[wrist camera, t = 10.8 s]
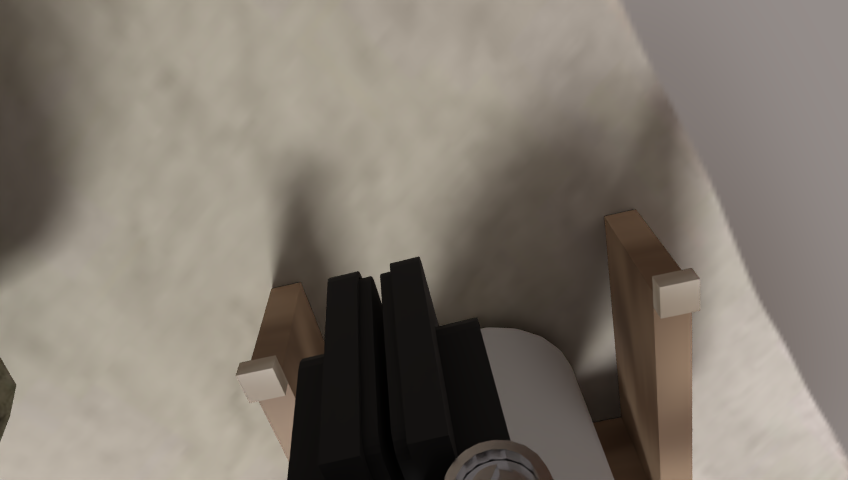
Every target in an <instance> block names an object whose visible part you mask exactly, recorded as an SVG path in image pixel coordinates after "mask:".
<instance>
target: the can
mask: <svg viewBox="0 0 848 480" xmlns="http://www.w3.org/2000/svg"><path fill="white" fill-rule="evenodd" d="M481 333H482V337H483V340H484V344H485V348H486V351H487V355H488V359H489V362H490V366H491V370H492V374H493V377H494V381H495V385H496V388H497V392H498V396H499V399H500V403H501V407H502V410H503V414H504V418H505V422H506V425H507V429H508V433H509V436H510V440H511V441H513V442H516V443H520V444H523V445H525V446H527V447H528V448H530V449H531V450H533V451H534V452H535V453H537V454H538V455H539V456H540V458H541V459H542V460H543V462H544V463H545V464H546V466H547V468H548V469H549V471H550V473H551V475H552V477H553V479H554V480H614V478H613V475H612V472H611V470H610V467H609V464H608V462H607V459H606V456H605V454H604V451H603V448H602V446H601V443H600V440H599V438H598V435H597V432H596V430H595V427H594V425H593V422H592V419H591V417H590V414H589V411H588V409H587V406H586V403H585V401H584V398H583V395H582V393H581V390H580V387H579V385H578V382H577V379H576V377H575V374H574V372H573V369H572V367H571V366H570V364H569V362H568V361H567V359H566V358H565V356H564V354H563V353H562V351H561V350H559V349H558V348H557V347H555V346H554V345H553V344H551V343H550V342H548V341H547V340H546V339H544V338H543V337H541V336H538V335H535V334H532V333H529V332H526V331H523V330H520V329H515V328H493V327H487V328H482V329H481Z"/></svg>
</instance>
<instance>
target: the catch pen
mask: <svg viewBox="0 0 848 480" xmlns="http://www.w3.org/2000/svg"><path fill="white" fill-rule="evenodd" d="M604 219H605V231H606V243H607V255H608V267H609V278H610V290H611V302H612V314H613V326H614V337H615V349H616V361H617V373H618V385H619V396H620V408H621V417H620V418H615V419H609V420H604V421H599V422H594V423H593V425H594V427H595V430H596V432H597V435H598V438H599V440H600V443H601V446H602V448H603V451H604V454H605V456H606V459H607V462H608V464H609V467H610V470H611V472H612V475H613V478H614V480H692V312H696V311H700V278H699V277H698V275H697V274H696V273H695V272H694V270H693V269H692V268H689V269H685V270H681V269H680V268H679V266H678V265H677V264H676V262H675V261H674V260H673V258H672V257H671V256H670V254H669V253H668V252H667V250H666V249H665V248H664V246H663V245H662V244H661V242H660V241H659V240H658V238H657V237H656V236H655V234H654V233H653V232H652V230H651V229H650V228H649V226H648V225H647V224H646V222H645V221H644V220H643V218H642V217H641V216H640V214H639V213H638V212H637V210H636V209H635V210H631V211H626V212H622V213H617V214H612V215H608V216H604ZM324 345H325V342H324V340H323V337H322V334H321V332H320V329H319V327H318V324H317V322H316V319H315V317H314V314H313V312H312V309H311V307H310V304H309V302H308V299H307V297H306V294H305V292H304V289H303V287H302V284H301V282H300V283H295V284H291V285H286V286H281V287H277V288H272V289H271V292H270V296H269V299H268V303H267V306H266V310H265V313H264V317H263V320H262V324H261V327H260V331H259V334H258V338H257V341H256V345H255V348H254V352H253V355H252V359H251V361H246V362H241V363H239V367H238V370H237V373H236V377H237V379H238V381H239V383H240V385H241V387H242V389H243V391H244V393H245V395H246V397H247V399H248V401H249V403H252V402H257V401H259V403H260V405H261V407H262V409H263V411H264V413H265V415H266V417H267V419H268V421H269V423H270V425H271V427H272V429H273V431H274V433H275V435H276V437H277V439H278V441H279V443H280V445H281V447H282V449H283V451H284V453H285V455H286V457H287V459H288V461H289V458H290V448H291V438H292V428H293V418H294V408H295V398H296V388H297V378H298V369H299V364H300V361H301V360H302V359H303V358H308V357H312V356H316V355H320V354H324Z"/></svg>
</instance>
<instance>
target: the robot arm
mask: <svg viewBox="0 0 848 480" xmlns="http://www.w3.org/2000/svg"><path fill="white" fill-rule="evenodd" d="M380 280H381V294H382V303H381V300H380V297H379V294H378V291H377V288H376V285H375V282H374V280H373V278H372V276H370V277H366V278H362V276H361V274H360V272H358V271H357V272H353V273H349V274H345V275H340V276H336V277H332V278H329V279H328V288H327V307H326V326H325V345H324V354H320V355H316V356H312V357H308V358H303V359H302V360H301V361H300V364H299V369H298V378H297V388H296V398H295V408H294V418H293V428H292V438H291V448H290V458H289V468H288V478H287V480H554V479H553V477H552V475H551V473H550V471H549V469H548V468H547V466H546V464H545V463H544V462H543V460H542V459H541V458H540V456H539V455H538V454H537V453H535V452H534V451H533V450H531V449H530V448H528V447H527V446H525V445H523V444H520V443H516V442H513V441H511V440H510V436H509V433H508V429H507V425H506V422H505V418H504V414H503V410H502V407H501V403H500V399H499V396H498V392H497V388H496V385H495V381H494V377H493V374H492V370H491V366H490V362H489V359H488V355H487V351H486V348H485V344H484V340H483V337H482V333H481V329H480V326H479V322H478V319H477V318H472V319H468V320H464V321H460V322H455V323H451V324H447V325H443V326H439V325H438V321H437V318H436V314H435V310H434V307H433V303H432V299H431V296H430V292H429V288H428V285H427V281H426V277H425V274H424V270H423V267H422V263H421V260H420V257H415V258H411V259H407V260H403V261H399V262H394V263H390V272H387V273H383V274H381V275H380Z"/></svg>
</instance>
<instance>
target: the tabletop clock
mask: <svg viewBox="0 0 848 480" xmlns="http://www.w3.org/2000/svg"><path fill="white" fill-rule="evenodd" d="M15 389H16V383H15V382H14V380H13V378H12V377H11V375H10V373H9V372H8V370H7V368H6V366H5V365H4V363H3V361H2V360H1V358H0V441H1V438H2V436H3V433H4V430H5V428H6V425H7V422H8V420H9V417H10V413H11V408H12V403H13V398H14V393H15Z"/></svg>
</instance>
